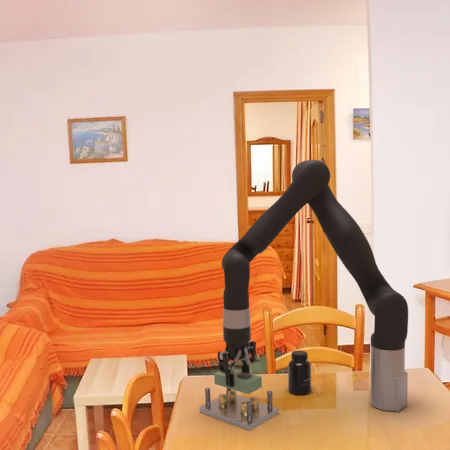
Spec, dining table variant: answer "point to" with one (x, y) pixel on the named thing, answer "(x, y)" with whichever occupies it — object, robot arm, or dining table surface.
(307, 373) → the supplement bottle
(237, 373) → the board
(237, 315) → the robot arm
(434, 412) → the dining table surface
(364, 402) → the dining table surface
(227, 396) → the chassis
